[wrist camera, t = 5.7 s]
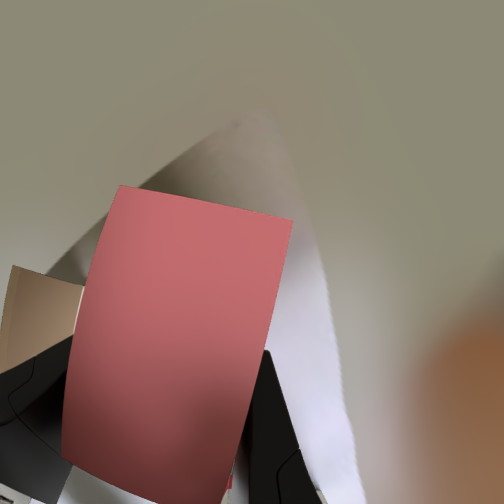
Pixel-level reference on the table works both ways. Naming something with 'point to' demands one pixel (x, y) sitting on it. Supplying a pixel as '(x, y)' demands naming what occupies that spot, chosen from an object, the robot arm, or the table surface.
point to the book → (170, 344)
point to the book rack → (36, 315)
